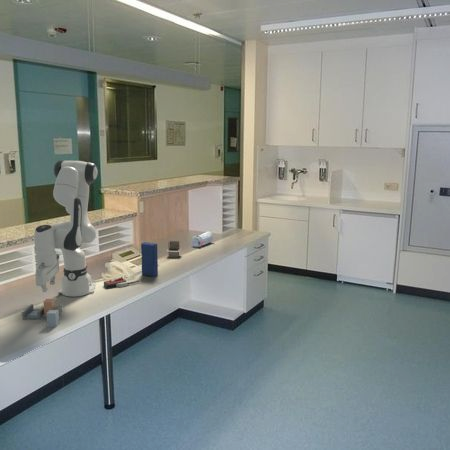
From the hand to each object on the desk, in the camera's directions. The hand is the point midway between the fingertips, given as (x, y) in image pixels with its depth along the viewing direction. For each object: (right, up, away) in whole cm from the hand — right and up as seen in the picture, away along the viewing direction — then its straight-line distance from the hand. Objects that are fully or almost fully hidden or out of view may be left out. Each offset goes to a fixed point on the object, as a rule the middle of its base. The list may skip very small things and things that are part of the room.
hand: (48, 287), depth 217 cm
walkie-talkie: (+23, -5, +47) cm, 53 cm away
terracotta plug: (0, -12, +2) cm, 13 cm away
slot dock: (-4, -13, +2) cm, 14 cm away
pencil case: (+66, +14, +143) cm, 158 cm away
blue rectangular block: (+37, -1, +66) cm, 76 cm away
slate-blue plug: (+5, -16, -9) cm, 19 cm away
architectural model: (+47, +7, +108) cm, 118 cm away
